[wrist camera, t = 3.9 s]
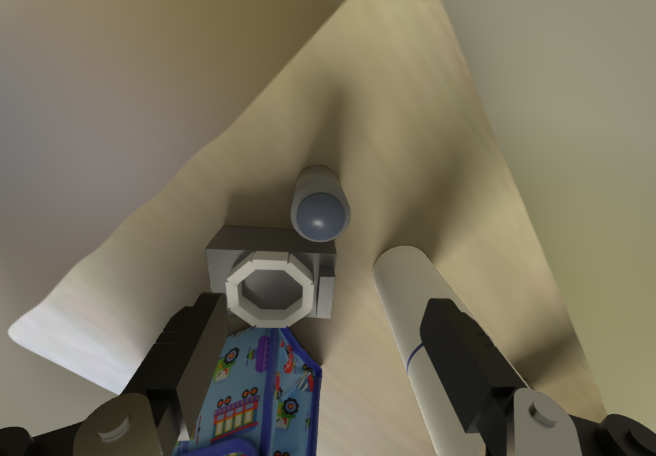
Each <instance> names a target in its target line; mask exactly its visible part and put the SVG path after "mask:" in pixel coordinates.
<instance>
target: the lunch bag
mask: <svg viewBox="0 0 656 456" xmlns="http://www.w3.org/2000/svg"><path fill="white" fill-rule="evenodd" d="M321 381H322V369H321V368H320V366H319V365H318V364H317V363H316V362H314V361H313V360H312V359H311V358H310V356H309V355H308V354H307V352H306V351H305V350H304V349H302V348H301V347H300V345H299V343H298V342H297V340H296V339H295V338H294V336H293V335H292V333H291V331H290V329H289V327H288V326H287V325H286V328H256V325H255V326H252V327H250V328H247V329H245V330H242V331H240V332H238V333H236V334H233V335H231V336H229V337H227V339H226V342H225V345H224V347H223V350H222V353H221V356H220V359H219V361H218V364H217V367H216V370H215V372H214V375H213V378H212V381H211V384H210V386H209V389H208V392H207V395H206V397H205V400H204V403H203V406H202V409H201V411H200V414H199V417H198V420H197V422H196V425H195V428H194V431H193V434H192V436H191V439H190V440H187V441H177V443H176V445H175V448H174V450H173V453H172V455H171V456H316V449H317V435H318V417H319V399H320V390H321Z"/></svg>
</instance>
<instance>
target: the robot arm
mask: <svg viewBox="0 0 656 456" xmlns="http://www.w3.org/2000/svg"><path fill="white" fill-rule="evenodd" d="M228 327H229V323H228V313H227V305H226V296H225V293H216V292H203V293H201V294H200V296H199V298H198V299H197V301H196V303H195V304H194V306H193V307H189V306H185V307H184V308H182V309H181V310H180V311H179V312H177V313H176V314H175V315H174V316H173V317H171V319H170V321H169V322H168V324H167V325H166V327H165V328H164V330H163V333H161V334H160V336H159V337H158V339H157V340H156V344H154V345H153V346H152V348H151V349H150V351H149V352H148V354H147V355H146V357H145V359H144V360H143V362H142V363H141V365H140V366H139V368H138V369H137V371H136V372H135V374H134V375H133V377H132V378H131V380H130V381H129V383H128V384H127V386H126V387H125V389H124V390H123V392H122V393H121V394H120V395H119V396H117V397H115V398H112V399H111V400H109V401H107V402H105V403H104V404H102V405H101V406H99V407H98V408H97V409H96V410H94V412H92V413H91V414H90V415H89V416H88V417H87V418H86V420H84V421H82V422H79V423H76V424H73V425H70V426H67V427H64V428H61V429H58V430H54V431H51V432H48V433H45V434H42V435H38V436H35V437H31V435H30V434H29V433H28V431H27V430H25V429H24V428H21V427H7V428H3V429H0V456H171V455H172V453H173V450H174V448H175V445H176V443H177V441H187V440H190V439H191V436H192V434H193V431H194V428H195V425H196V422H197V420H198V417H199V414H200V411H201V409H202V406H203V403H204V400H205V397H206V395H207V392H208V389H209V386H210V384H211V381H212V378H213V375H214V372H215V370H216V367H217V364H218V361H219V359H220V356H221V353H222V350H223V347H224V345H225V342H226V339H227V335H228ZM420 338H421V341H422V343H423V346H424V348H425V350H426V352H427V354H428V356H429V358H430V360H431V362H432V364H433V367H434V369H435V371H436V373H437V375H438V377H439V379H440V381H441V383H442V385H443V387H444V390H445V392H446V394H447V396H448V398H449V400H450V402H451V404H452V406H453V408H454V411H455V413H456V415H457V417H458V419H459V421H460V423H461V425H462V427H463V429H464V432H465V434H466V433H480V435H481V437H482V439H483V443H482V445H481V452H480V456H656V434H655V433H654V432H652V431H651V430H650V429H648V428H647V427H645V426H643V425H642V424H640V423H639V422H637V421H635V420H633V419H630V418H628V417H626V416H622V415H618V414H610V415H608V416H607V417H606V418H605V419H604V420H603V421H602V422H601V423H600V424H599V423H596V422H592V421H589V420H586V419H582V418H579V417H576V416H573V415H569V414H567V413H566V411H565V410H564V409H563V408H562V407H561V406H560V405H559V404H557V403H556V402H555V401H554V400H552V399H551V398H550V397H548V396H547V395H545V394H543V393H541V392H539V391H537V390H535V389H534V387H533V386H532V385H531V384H530V382H529V381H528V380H524V381H525V382H526V383H527V385H528V386H529V387H530V388H531V389H530V388H528V387H527V386H526V384H525V383H524V382H523V381H522V379H521V378H520V377H519V375H518V374H517V373H516V372H515V370H514V369H513V368H512V366H511V365H510V364H509V363H508V361H507V360H506V359H505V357H504V356H503V355H502V354H501V352H500V351H499V350H498V348H497V347H496V346H494V343H493V342H492V341H491V339H490V338H489V337H488V336H486V333H485V332H484V330H483V329H482V328H481V327H480V325H479V324H478V323H477V322H476V321H475V320H474V319H472V318H471V317H470V316H469V315H467V314H466V313H465V312H461V311H460V310H459V308H458V307H457V306H456V304H455V303H454V302H453V300H451V299H449V298H430V299H429V301H428V303H427V306H426V309H425V312H424V315H423V318H422V321H421V324H420Z"/></svg>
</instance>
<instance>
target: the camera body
mask: <svg viewBox="0 0 656 456" xmlns="http://www.w3.org/2000/svg"><path fill="white" fill-rule="evenodd" d="M205 250H206V257H207V264H208V272H209V279H210V286H211V292H216V293H225V296H226V305H227V313H228V316H239V317H240V318H242V319H243V320H244V321H246V322H247V323H249V324H250V325H252V326H255V325H256V328H286V325H287V326H288V327H290V326H291V325H293V324H294V323H295V322H297V321H298V320H300V319H301V318H302V317H317V318H331V311H332V302H333V293H334V285H335V263H336V249H335V243H334V239H333V240H330V241H326V242H314V241H310V240H308V239H306V238H304V237H302V236H301V235H300V234H299V233H298V232H297V231H296V230H295V229H277V228H257V227H236V226H222V228H221V229H220V230H219V231H218V233H217V234H216V235H215V237H214V238H213V239H212V241H211V242H210V243H209V245H208V246H207V247H206V249H205Z"/></svg>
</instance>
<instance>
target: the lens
mask: <svg viewBox="0 0 656 456" xmlns="http://www.w3.org/2000/svg"><path fill="white" fill-rule="evenodd" d="M349 221H350V207H349V204H348V201H347V199H346V197H345V194H344V192H343V190H342V187H341V185H340V183H339V180H338V178H337V176H336V174H335V173H334V172H333V171H332V170H331V169H329V168H328V167H325V166H322V165H313V166H310V167H308V168H306V169H304V170H303V171H302V172H301V173H300V175H299V176H298V178H297V181H296V186H295V191H294V197H293V202H292V207H291V222H292V224H293V227H294V228H295V230H296V231H297V232H298V233H299V234H300V235H301V236H302V237H304V238H306V239H308V240H310V241H314V242H326V241H330V240H333V239H335V238H337V237H338V236H339V235H341V234H342V233H343V232H344V230H345V229H346V228H347V226H348V224H349Z"/></svg>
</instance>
